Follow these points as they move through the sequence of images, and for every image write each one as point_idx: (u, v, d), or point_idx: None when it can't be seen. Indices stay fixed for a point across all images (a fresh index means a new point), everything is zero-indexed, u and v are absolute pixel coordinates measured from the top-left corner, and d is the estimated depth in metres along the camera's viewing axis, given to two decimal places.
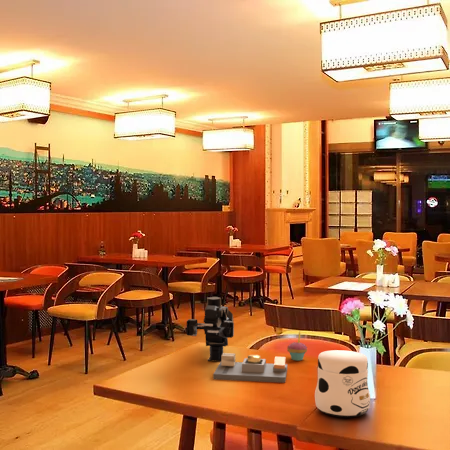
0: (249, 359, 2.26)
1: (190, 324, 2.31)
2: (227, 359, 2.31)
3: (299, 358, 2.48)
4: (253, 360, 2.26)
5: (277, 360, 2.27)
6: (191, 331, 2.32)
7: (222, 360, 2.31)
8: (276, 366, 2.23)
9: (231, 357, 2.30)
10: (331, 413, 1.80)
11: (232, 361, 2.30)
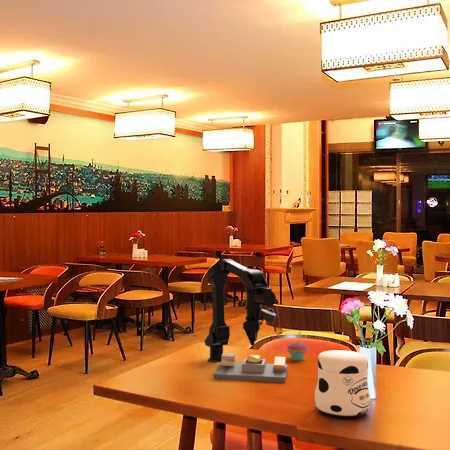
0: (249, 359, 2.26)
1: None
2: (227, 359, 2.31)
3: (299, 358, 2.48)
4: (253, 360, 2.26)
5: (277, 360, 2.27)
6: (248, 329, 2.21)
7: (222, 360, 2.31)
8: (276, 366, 2.23)
9: (231, 357, 2.30)
10: (331, 413, 1.80)
11: (232, 361, 2.30)
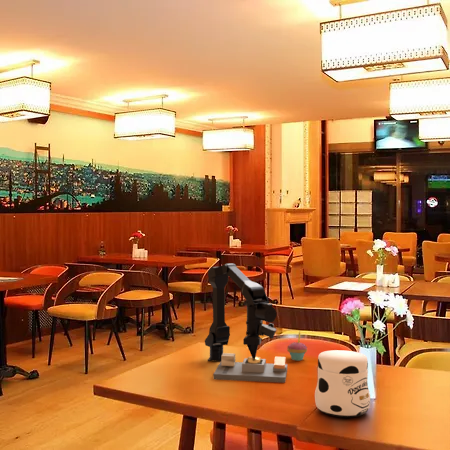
0: (249, 361, 2.27)
1: None
2: (227, 359, 2.31)
3: (299, 358, 2.48)
4: (253, 361, 2.26)
5: (277, 360, 2.27)
6: None
7: (222, 360, 2.31)
8: (276, 366, 2.23)
9: (231, 357, 2.30)
10: (331, 413, 1.80)
11: (232, 361, 2.30)
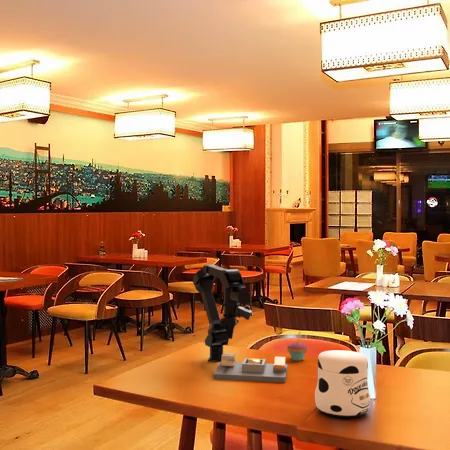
0: (249, 363, 2.27)
1: None
2: (227, 359, 2.31)
3: (299, 358, 2.48)
4: None
5: (277, 360, 2.27)
6: None
7: (222, 360, 2.31)
8: (276, 366, 2.23)
9: (231, 357, 2.30)
10: (331, 413, 1.80)
11: (232, 361, 2.30)
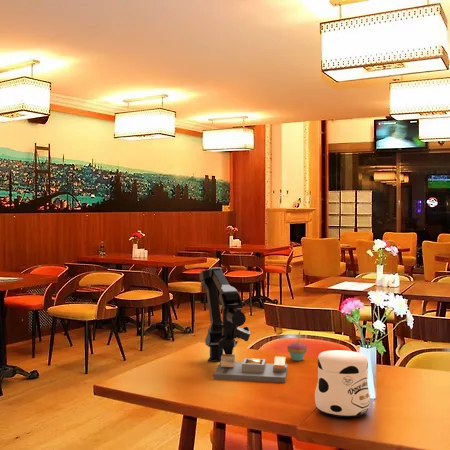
0: (249, 363, 2.27)
1: None
2: (226, 360, 2.29)
3: (299, 358, 2.48)
4: None
5: (277, 360, 2.27)
6: None
7: (221, 361, 2.30)
8: (276, 366, 2.23)
9: (231, 358, 2.29)
10: (331, 413, 1.80)
11: (232, 362, 2.29)
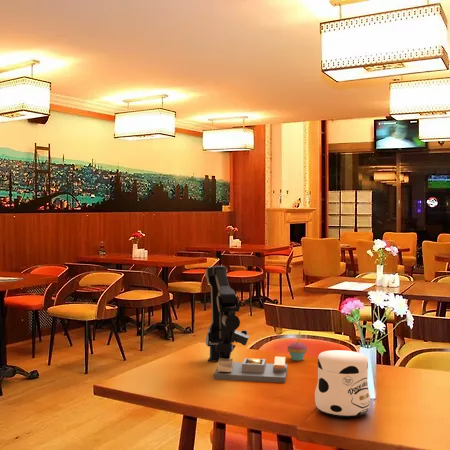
0: (249, 363, 2.27)
1: None
2: (224, 365, 2.23)
3: (299, 358, 2.48)
4: None
5: (277, 360, 2.27)
6: None
7: (219, 366, 2.23)
8: (276, 366, 2.23)
9: (229, 362, 2.22)
10: (331, 413, 1.80)
11: (229, 367, 2.23)
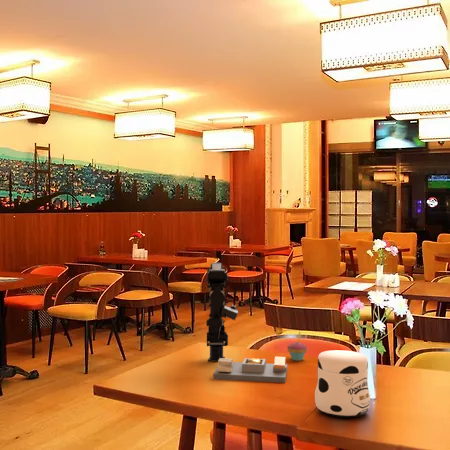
0: (249, 363, 2.27)
1: None
2: (224, 365, 2.23)
3: (299, 358, 2.48)
4: None
5: (277, 360, 2.27)
6: None
7: (219, 366, 2.23)
8: (276, 366, 2.23)
9: (229, 362, 2.22)
10: (331, 413, 1.80)
11: (229, 367, 2.23)
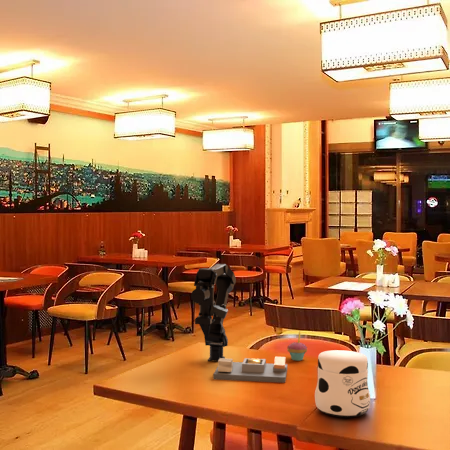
0: (249, 363, 2.27)
1: None
2: (224, 365, 2.23)
3: (299, 358, 2.48)
4: None
5: (277, 360, 2.27)
6: None
7: (219, 366, 2.23)
8: (276, 366, 2.23)
9: (229, 362, 2.22)
10: (331, 413, 1.80)
11: (229, 367, 2.23)
